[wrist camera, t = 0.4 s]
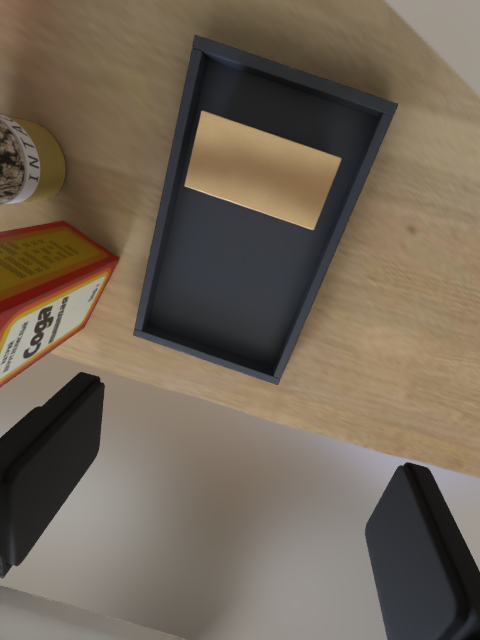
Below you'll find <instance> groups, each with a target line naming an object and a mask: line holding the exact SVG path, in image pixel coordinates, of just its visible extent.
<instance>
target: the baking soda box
mask: <svg viewBox="0 0 480 640" xmlns="http://www.w3.org/2000/svg"><path fill="white" fill-rule="evenodd" d="M118 261H119V258H118V257H116V256H115V255H113V254H112V253H110V252H109V251H108V250H106V249H105V248H103V247H102V246H100V245H99V244H97V243H96V242H94V241H93V240H91V239H90V238H88V237H87V236H85V235H84V234H82V233H81V232H79V231H78V230H76V229H75V228H73V227H72V226H70V225H69V224H67V223H66V222H64V221H60V222H54V223H48V224H43V225H37V226H31V227H26V228H20V229H15V230H9V231H3V232H0V387H1V386H3V385H4V384H6V383H7V382H9V381H10V380H11V379H13V378H14V377H16V376H17V375H18V374H20V373H21V372H22V371H24V370H25V369H27V368H28V367H29V366H31V365H32V364H34V363H35V362H36V361H38V360H39V359H41V358H42V357H44V356H45V355H46V354H48V353H49V352H51V351H52V350H53V349H55V348H56V347H58V346H59V345H60V344H62V343H63V342H65V341H66V340H67V339H69V338H70V337H72V336H73V335H74V334H76V333H77V332H79V331H80V330H81V329H83V328H84V327H85V325H86V323H87V321H88V319H89V317H90V315H91V313H92V311H93V309H94V308H95V306H96V304H97V302H98V300H99V298H100V296H101V294H102V292H103V290H104V288H105V286H106V284H107V282H108V280H109V279H110V277H111V275H112V273H113V271H114V269H115V267H116V265H117V263H118Z"/></svg>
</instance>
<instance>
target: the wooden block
mask: <svg viewBox="0 0 480 640" xmlns="http://www.w3.org/2000/svg"><path fill="white" fill-rule="evenodd" d="M341 160H342V158H340V157H337V156H334V155H331V154H328V153H326V152H323V151H320V150H317V149H314V148H311V147H308V146H305V145H302V144H299V143H296V142H293V141H290V140H288V139H285V138H282V137H279V136H276V135H273V134H270V133H267V132H264V131H261V130H258V129H255V128H252V127H250V126H247V125H244V124H241V123H238V122H235V121H232V120H229V119H226V118H223V117H220V116H217V115H214V114H211V113H209V112H206V111H201V115H200V120H199V124H198V128H197V133H196V137H195V142H194V146H193V150H192V155H191V159H190V163H189V168H188V172H187V176H186V181H185V186H186V187H189V188H192V189H195V190H197V191H200V192H203V193H206V194H209V195H212V196H215V197H218V198H221V199H224V200H227V201H230V202H232V203H235V204H238V205H241V206H244V207H247V208H250V209H253V210H256V211H259V212H262V213H265V214H267V215H270V216H273V217H276V218H279V219H282V220H285V221H288V222H291V223H294V224H297V225H300V226H302V227H305V228H308V229H311V230H314V228H315V226H316V223H317V221H318V218H319V216H320V213H321V211H322V208H323V206H324V203H325V200H326V198H327V195H328V193H329V190H330V188H331V185H332V183H333V180H334V178H335V175H336V172H337V170H338V167H339V165H340V162H341Z"/></svg>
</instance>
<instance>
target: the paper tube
mask: <svg viewBox="0 0 480 640" xmlns="http://www.w3.org/2000/svg"><path fill="white" fill-rule="evenodd" d="M65 173H66V166H65V160H64V156H63V153H62V151H61V148H60V146H59V144H58V143H57V141H56V140H55V138H54V137H53V136H52V135H51V134H50V133H49V132H48V131H47V130H46V129H45V128H43V127H42V126H40V125H38V124H36V123H34V122H31V121H27V120H23V119H18V118H14V117H10V116H5V115H2V114H0V204H9V203H18V202H30V201H42V200H46V199H49V198H51V197H53V196H54V195H55V194H57V193H58V191H59V190H60V189H61V187H62V185H63V182H64V179H65Z"/></svg>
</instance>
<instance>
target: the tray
mask: <svg viewBox="0 0 480 640" xmlns="http://www.w3.org/2000/svg"><path fill="white" fill-rule="evenodd" d="M192 47H193V48H192V52H191V57H190V62H189V66H188V71H187V76H186V81H185V86H184V91H183V96H182V100H181V105H180V110H179V115H178V120H177V125H176V129H175V134H174V139H173V144H172V149H171V154H170V159H169V163H168V168H167V173H166V178H165V183H164V188H163V193H162V197H161V202H160V207H159V212H158V217H157V222H156V227H155V231H154V236H153V241H152V246H151V251H150V256H149V261H148V265H147V270H146V275H145V280H144V285H143V290H142V294H141V299H140V304H139V309H138V314H137V319H136V324H135V329H134V333H133V335H134V336H137V337H140V338H142V339H145V340H148V341H151V342H154V343H157V344H160V345H163V346H166V347H168V348H171V349H174V350H177V351H180V352H183V353H186V354H189V355H192V356H195V357H197V358H200V359H203V360H206V361H209V362H212V363H215V364H218V365H221V366H223V367H226V368H229V369H232V370H235V371H238V372H241V373H244V374H247V375H250V376H252V377H255V378H258V379H261V380H264V381H267V382H270V383H273V384H276V385H278V384H279V382H280V378H281V377H282V374H283V372H284V370H285V367H286V365H287V363H288V360H289V358H290V356H291V353H292V351H293V349H294V346H295V344H296V342H297V339H298V337H299V335H300V332H301V330H302V328H303V325H304V323H305V321H306V318H307V316H308V314H309V311H310V309H311V307H312V304H313V302H314V300H315V297H316V295H317V293H318V290H319V288H320V286H321V283H322V281H323V279H324V276H325V274H326V272H327V269H328V267H329V265H330V263H331V260H332V258H333V256H334V253H335V251H336V249H337V246H338V244H339V242H340V239H341V237H342V235H343V232H344V230H345V228H346V225H347V223H348V221H349V218H350V216H351V214H352V211H353V209H354V207H355V204H356V202H357V200H358V197H359V195H360V193H361V190H362V188H363V186H364V183H365V181H366V179H367V176H368V174H369V172H370V169H371V167H372V165H373V162H374V160H375V158H376V155H377V153H378V151H379V148H380V146H381V144H382V141H383V139H384V137H385V134H386V132H387V130H388V127H389V125H390V123H391V120H392V118H393V116H394V114H395V111H396V109H397V107H398V104H397V103H394V102H391V101H388V100H385V99H382V98H379V97H376V96H374V95H371V94H368V93H365V92H362V91H359V90H356V89H353V88H350V87H347V86H344V85H341V84H338V83H335V82H332V81H330V80H327V79H324V78H321V77H318V76H315V75H312V74H309V73H306V72H303V71H300V70H297V69H294V68H291V67H288V66H286V65H283V64H280V63H277V62H274V61H271V60H268V59H265V58H262V57H259V56H256V55H253V54H250V53H247V52H244V51H242V50H239V49H236V48H233V47H230V46H227V45H224V44H221V43H218V42H215V41H212V40H209V39H206V38H203V37H200V36H198V35H195V37H194V41H193V46H192ZM201 111H206V112H209V113H211V114H214V115H217V116H220V117H223V118H226V119H229V120H232V121H235V122H238V123H241V124H244V125H247V126H250V127H252V128H255V129H258V130H261V131H264V132H267V133H270V134H273V135H276V136H279V137H282V138H285V139H288V140H290V141H293V142H296V143H299V144H302V145H305V146H308V147H311V148H314V149H317V150H320V151H323V152H326V153H328V154H331V155H334V156H337V157H340V158H342V160H341V162H340V165H339V167H338V170H337V172H336V175H335V178H334V180H333V183H332V185H331V188H330V190H329V193H328V195H327V198H326V200H325V203H324V206H323V208H322V211H321V213H320V216H319V218H318V221H317V223H316V226H315V228H314V230H311V229H308V228H305V227H302V226H300V225H297V224H294V223H291V222H288V221H285V220H282V219H279V218H276V217H273V216H270V215H267V214H265V213H262V212H259V211H256V210H253V209H250V208H247V207H244V206H241V205H238V204H235V203H232V202H230V201H227V200H224V199H221V198H218V197H215V196H212V195H209V194H206V193H203V192H200V191H197V190H195V189H192V188H189V187H186V186H185V181H186V176H187V172H188V168H189V163H190V159H191V155H192V150H193V146H194V142H195V137H196V133H197V128H198V124H199V120H200V115H201Z"/></svg>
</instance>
